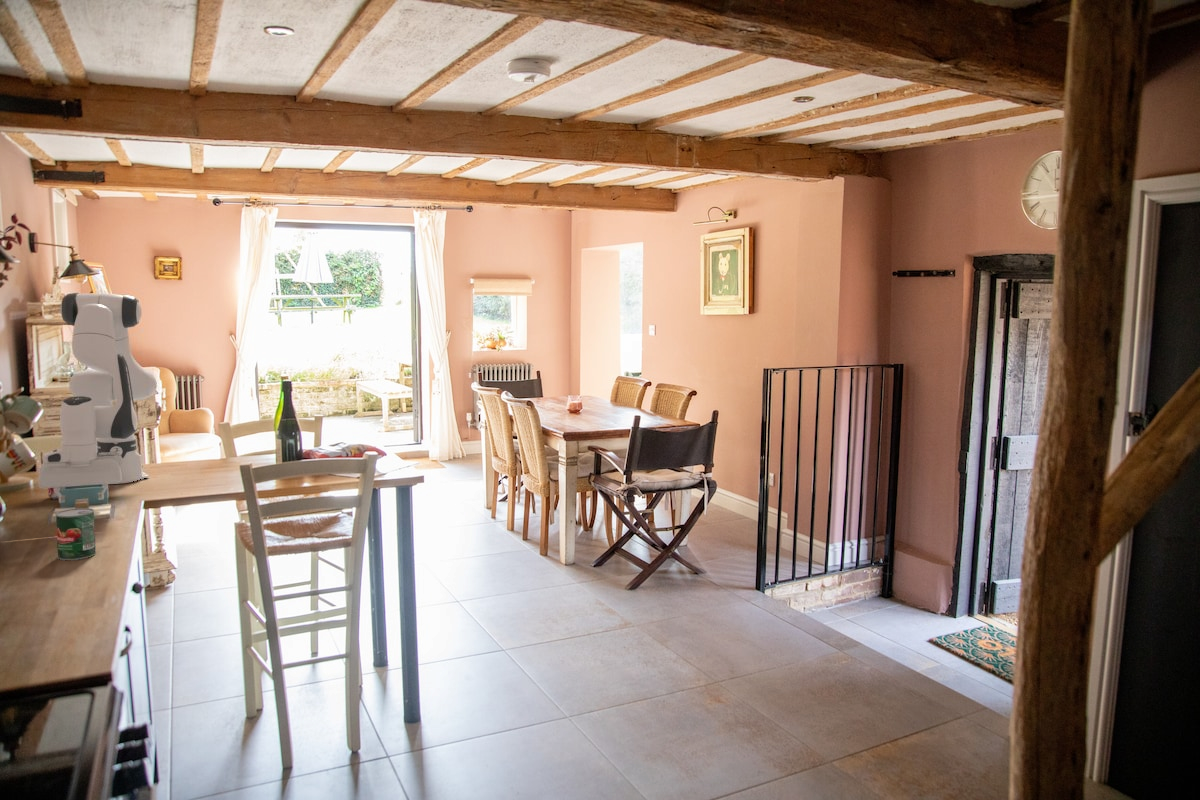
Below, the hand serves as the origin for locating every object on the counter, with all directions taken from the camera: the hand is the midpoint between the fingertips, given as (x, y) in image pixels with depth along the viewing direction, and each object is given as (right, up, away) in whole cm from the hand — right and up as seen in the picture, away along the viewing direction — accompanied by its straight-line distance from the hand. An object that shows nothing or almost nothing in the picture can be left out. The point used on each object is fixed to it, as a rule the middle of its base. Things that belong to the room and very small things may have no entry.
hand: (81, 500), depth 233 cm
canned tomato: (+22, -9, -36) cm, 43 cm away
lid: (0, -4, +1) cm, 4 cm away
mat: (0, -5, +1) cm, 5 cm away
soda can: (-21, -2, +22) cm, 31 cm away
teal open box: (-8, -3, +15) cm, 17 cm away
